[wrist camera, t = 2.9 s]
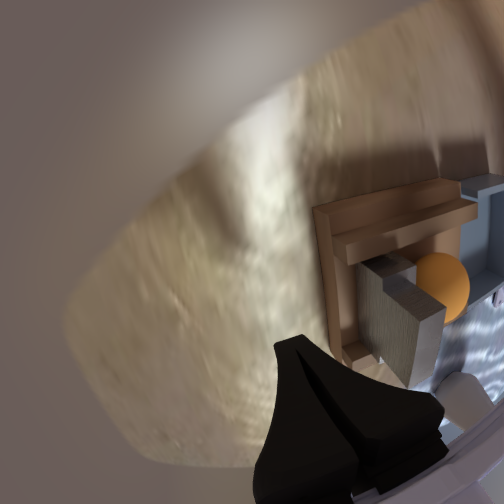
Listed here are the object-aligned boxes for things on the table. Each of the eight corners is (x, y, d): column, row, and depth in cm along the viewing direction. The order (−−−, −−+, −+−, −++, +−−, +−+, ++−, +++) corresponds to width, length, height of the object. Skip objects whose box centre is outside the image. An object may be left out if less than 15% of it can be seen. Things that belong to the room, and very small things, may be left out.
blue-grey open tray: (489, 173, 16) (517, 179, 14) (484, 270, 20) (507, 283, 17) (441, 184, 16) (473, 192, 13) (438, 297, 19) (462, 314, 16)
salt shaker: (428, 387, 24) (494, 464, 12) (465, 355, 24) (534, 421, 12) (429, 409, 26) (483, 476, 14) (462, 380, 26) (519, 441, 14)
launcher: (439, 177, 16) (477, 186, 12) (436, 303, 19) (464, 324, 16) (312, 207, 15) (343, 222, 11) (330, 351, 18) (352, 384, 15)
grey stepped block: (386, 247, 14) (456, 289, 9) (386, 326, 16) (437, 378, 11) (354, 258, 14) (421, 308, 9) (358, 338, 15) (406, 397, 11)
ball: (439, 235, 15) (487, 258, 11) (435, 291, 16) (475, 319, 12) (391, 253, 14) (439, 283, 11) (390, 313, 16) (429, 349, 12)
